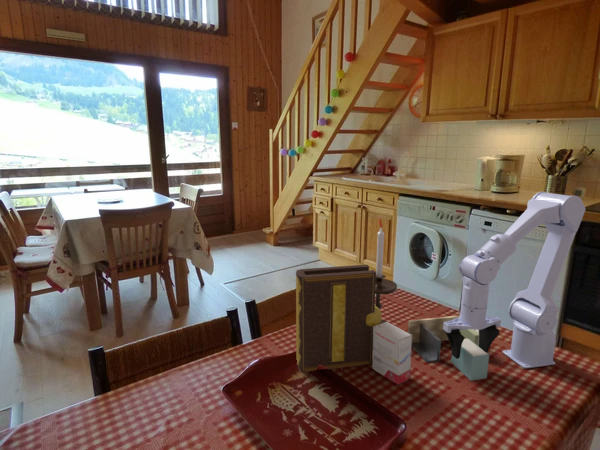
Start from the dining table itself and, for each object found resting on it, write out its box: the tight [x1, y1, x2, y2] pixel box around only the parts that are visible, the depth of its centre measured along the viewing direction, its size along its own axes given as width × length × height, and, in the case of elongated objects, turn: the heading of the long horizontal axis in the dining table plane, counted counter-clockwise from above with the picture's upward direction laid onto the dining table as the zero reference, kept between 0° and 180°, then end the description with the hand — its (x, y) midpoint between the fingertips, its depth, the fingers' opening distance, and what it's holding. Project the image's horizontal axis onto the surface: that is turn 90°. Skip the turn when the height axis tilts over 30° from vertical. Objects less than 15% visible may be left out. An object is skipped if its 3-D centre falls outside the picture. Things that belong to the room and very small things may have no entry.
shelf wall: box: [407, 314, 460, 343], centre depth 107 cm, size 18×1×7 cm, turn 101°
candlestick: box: [375, 217, 398, 325], centre depth 112 cm, size 11×11×35 cm
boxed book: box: [450, 339, 490, 381], centre depth 93 cm, size 4×8×6 cm, turn 11°
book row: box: [460, 329, 479, 347], centre depth 103 cm, size 3×9×7 cm, turn 11°
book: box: [295, 264, 383, 373], centre depth 95 cm, size 22×8×25 cm, turn 102°
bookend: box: [411, 324, 442, 363], centre depth 101 cm, size 4×9×6 cm, turn 11°
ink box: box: [372, 321, 412, 386], centre depth 91 cm, size 9×5×12 cm, turn 33°
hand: (469, 354), depth 93 cm, fingers open, 7 cm apart
